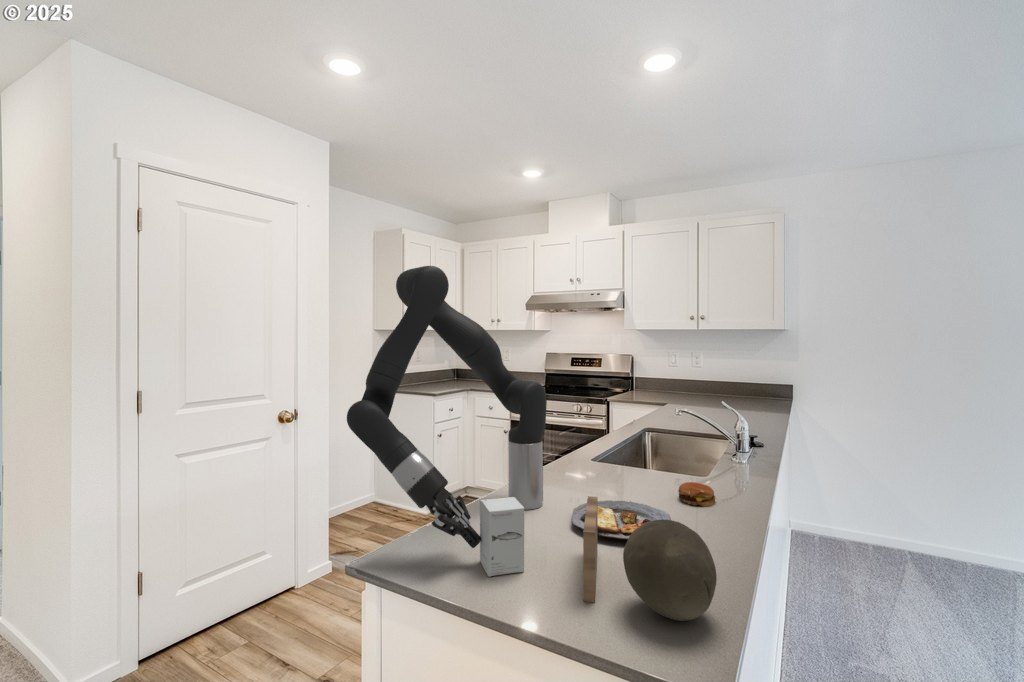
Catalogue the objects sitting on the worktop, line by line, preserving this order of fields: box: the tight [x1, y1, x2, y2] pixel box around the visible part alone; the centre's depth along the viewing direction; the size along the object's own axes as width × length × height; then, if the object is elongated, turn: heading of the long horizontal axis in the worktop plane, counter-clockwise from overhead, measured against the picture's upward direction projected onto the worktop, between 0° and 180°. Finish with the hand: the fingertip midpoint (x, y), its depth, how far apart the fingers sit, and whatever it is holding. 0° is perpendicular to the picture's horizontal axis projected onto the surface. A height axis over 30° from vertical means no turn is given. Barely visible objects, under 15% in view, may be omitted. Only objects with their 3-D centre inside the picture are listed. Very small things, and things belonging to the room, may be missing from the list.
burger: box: [677, 481, 716, 508], centre depth 136 cm, size 10×9×5 cm
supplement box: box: [479, 497, 525, 578], centre depth 98 cm, size 7×7×13 cm
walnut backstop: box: [582, 495, 599, 603], centre depth 94 cm, size 19×2×12 cm, turn 169°
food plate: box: [571, 499, 672, 541], centre depth 119 cm, size 25×23×4 cm
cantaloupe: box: [622, 519, 717, 622], centre depth 81 cm, size 14×14×15 cm
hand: (477, 543), depth 98 cm, fingers closed
